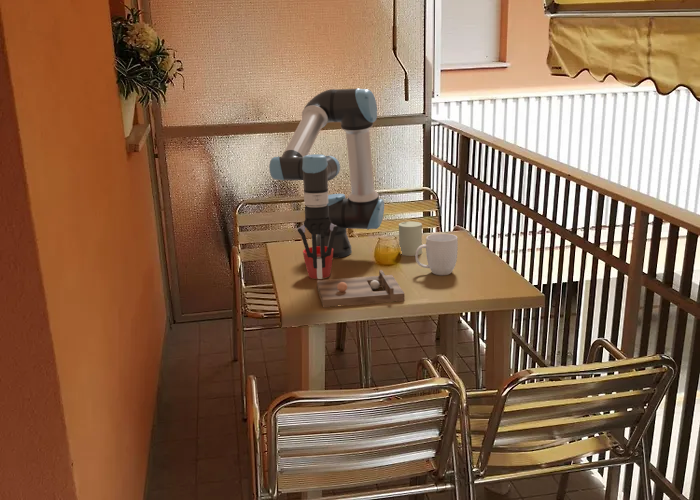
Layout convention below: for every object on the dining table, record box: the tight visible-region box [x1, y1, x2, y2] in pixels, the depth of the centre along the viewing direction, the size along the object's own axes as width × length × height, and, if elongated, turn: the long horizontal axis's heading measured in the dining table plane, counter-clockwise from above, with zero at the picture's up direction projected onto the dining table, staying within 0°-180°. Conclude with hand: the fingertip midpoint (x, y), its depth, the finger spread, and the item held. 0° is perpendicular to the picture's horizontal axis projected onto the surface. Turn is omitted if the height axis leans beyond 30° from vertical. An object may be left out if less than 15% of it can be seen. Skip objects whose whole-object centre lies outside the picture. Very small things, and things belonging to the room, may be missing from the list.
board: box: [316, 269, 406, 308], centre depth 238 cm, size 20×26×4 cm
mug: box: [414, 232, 459, 276], centre depth 256 cm, size 15×11×13 cm
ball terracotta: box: [337, 282, 347, 292], centre depth 233 cm, size 3×3×3 cm
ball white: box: [370, 280, 381, 291], centre depth 242 cm, size 3×3×3 cm
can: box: [398, 220, 423, 257], centre depth 282 cm, size 9×9×12 cm
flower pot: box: [302, 246, 334, 280], centre depth 258 cm, size 11×11×10 cm
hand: (319, 277), depth 231 cm, fingers closed
